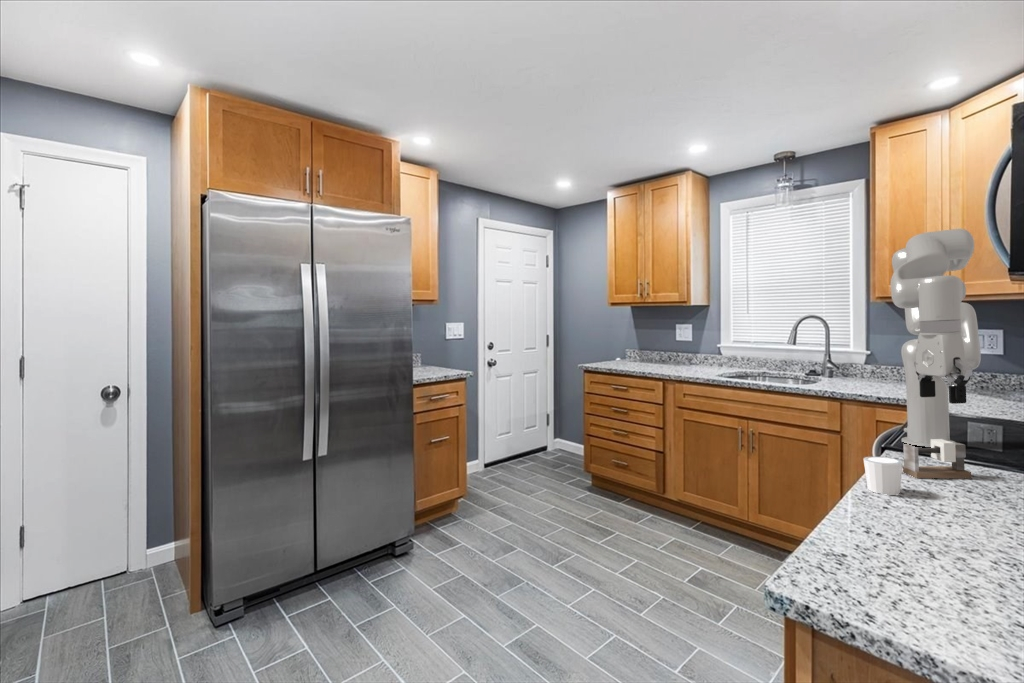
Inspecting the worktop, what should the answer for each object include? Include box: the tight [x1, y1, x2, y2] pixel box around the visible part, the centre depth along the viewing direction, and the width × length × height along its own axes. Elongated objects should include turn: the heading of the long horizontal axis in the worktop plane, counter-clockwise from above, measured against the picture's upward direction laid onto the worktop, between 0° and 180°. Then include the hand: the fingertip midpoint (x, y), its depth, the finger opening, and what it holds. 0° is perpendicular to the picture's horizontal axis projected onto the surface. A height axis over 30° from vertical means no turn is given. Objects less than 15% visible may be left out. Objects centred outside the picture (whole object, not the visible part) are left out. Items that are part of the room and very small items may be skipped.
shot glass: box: [863, 456, 904, 496], centre depth 108 cm, size 7×7×7 cm
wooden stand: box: [902, 442, 972, 480], centre depth 118 cm, size 5×12×8 cm, turn 82°
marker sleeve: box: [930, 439, 956, 463], centre depth 117 cm, size 4×2×4 cm, turn 172°
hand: (942, 399), depth 118 cm, fingers open, 9 cm apart
